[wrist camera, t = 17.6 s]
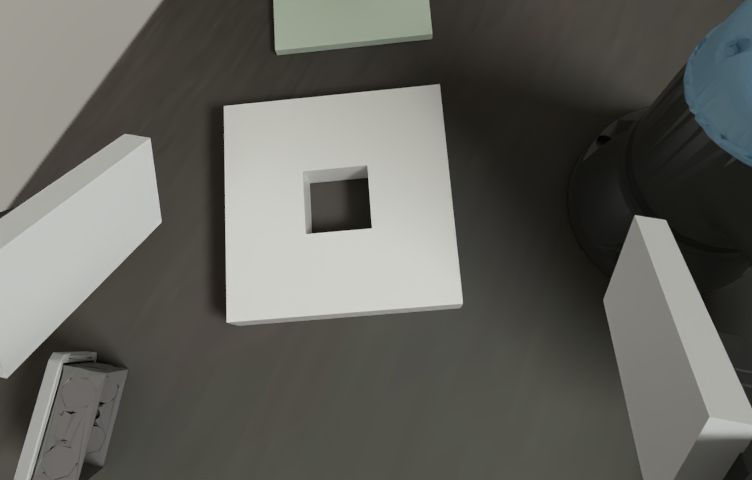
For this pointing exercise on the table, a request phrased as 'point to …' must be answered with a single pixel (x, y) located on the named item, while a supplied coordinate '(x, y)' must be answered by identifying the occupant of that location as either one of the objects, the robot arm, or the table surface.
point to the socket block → (340, 248)
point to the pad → (348, 23)
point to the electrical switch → (71, 418)
